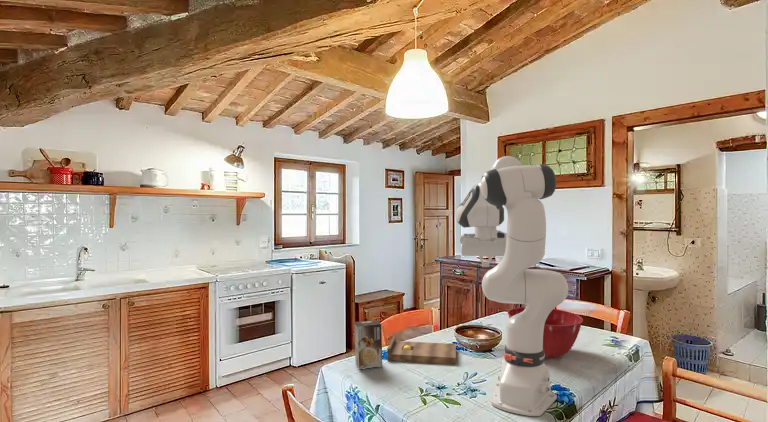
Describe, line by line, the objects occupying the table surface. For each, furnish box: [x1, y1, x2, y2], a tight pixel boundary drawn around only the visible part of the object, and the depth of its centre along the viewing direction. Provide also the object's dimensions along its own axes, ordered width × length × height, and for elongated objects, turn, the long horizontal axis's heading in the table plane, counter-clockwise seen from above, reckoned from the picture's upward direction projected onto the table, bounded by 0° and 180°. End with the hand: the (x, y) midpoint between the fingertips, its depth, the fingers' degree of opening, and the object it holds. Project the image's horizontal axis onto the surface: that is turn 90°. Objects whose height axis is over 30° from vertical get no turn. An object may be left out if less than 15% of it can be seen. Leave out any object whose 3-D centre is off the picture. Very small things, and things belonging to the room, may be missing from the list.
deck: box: [386, 335, 457, 365], centre depth 162 cm, size 26×16×4 cm, turn 80°
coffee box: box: [354, 320, 383, 370], centre depth 151 cm, size 9×6×16 cm
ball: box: [403, 345, 412, 350], centre depth 163 cm, size 4×4×4 cm
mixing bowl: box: [507, 306, 584, 360], centre depth 164 cm, size 28×28×16 cm
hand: (485, 266), depth 170 cm, fingers closed
